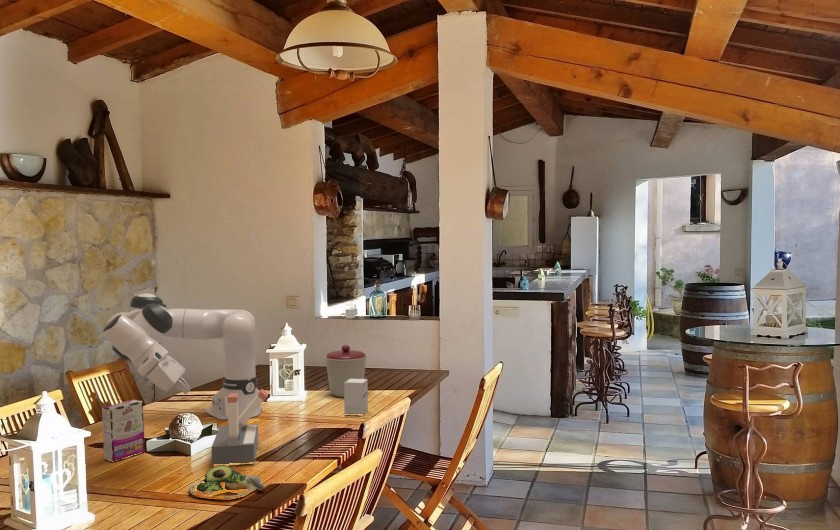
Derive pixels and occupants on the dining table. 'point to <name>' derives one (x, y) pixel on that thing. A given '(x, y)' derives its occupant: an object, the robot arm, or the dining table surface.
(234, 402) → the lever
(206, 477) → the salad plate
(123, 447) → the candy bar box
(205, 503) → the dining table surface
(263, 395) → the lever
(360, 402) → the supplement box
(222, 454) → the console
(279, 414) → the dining table surface
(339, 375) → the canister
